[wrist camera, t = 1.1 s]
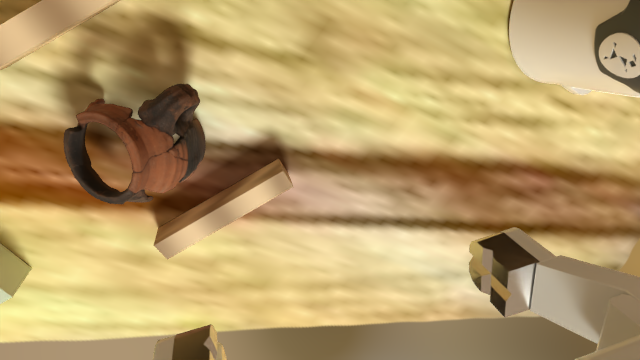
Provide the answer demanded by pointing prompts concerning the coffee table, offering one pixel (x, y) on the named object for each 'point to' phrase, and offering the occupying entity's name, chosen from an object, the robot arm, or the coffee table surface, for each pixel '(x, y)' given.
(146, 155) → the broken brown clay pot
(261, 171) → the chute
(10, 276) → the block
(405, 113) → the coffee table surface
